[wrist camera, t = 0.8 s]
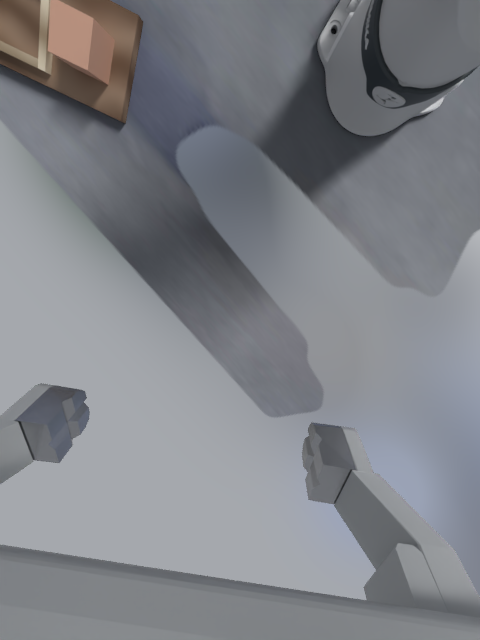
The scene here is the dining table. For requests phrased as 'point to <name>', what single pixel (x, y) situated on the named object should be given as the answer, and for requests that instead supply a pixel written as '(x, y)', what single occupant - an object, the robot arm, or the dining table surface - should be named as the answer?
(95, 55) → the terracotta cube
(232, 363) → the dining table surface
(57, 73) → the assembly board
